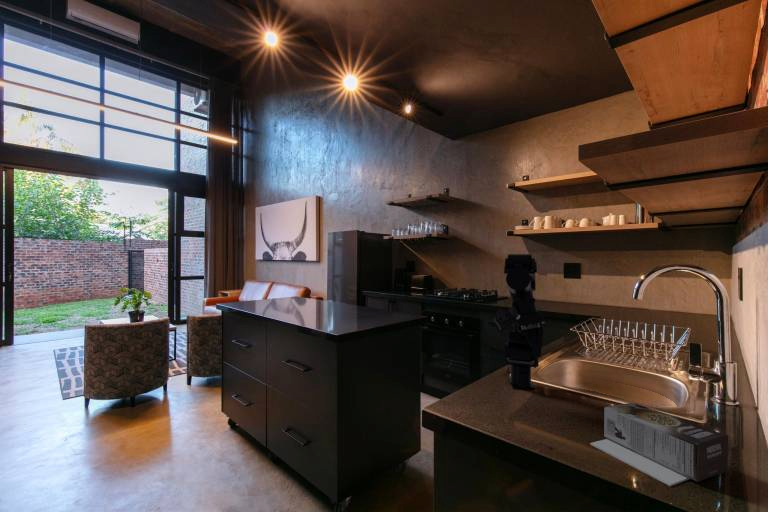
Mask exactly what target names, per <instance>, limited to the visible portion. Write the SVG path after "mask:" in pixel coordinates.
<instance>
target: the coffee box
mask: <svg viewBox="0 0 768 512" xmlns="http://www.w3.org/2000/svg"><path fill="white" fill-rule="evenodd" d="M603 412H604V415H603V416H604V417H603V418H604V420H603V422H604V425H603V426H604V427H603V429H604V431H603V432H604V433H603V434H604V435H603V436H604V437H605V439H610V440H612V441H614V442H616V443H618V444H620V445H623V446H625V447H627V448H629V449H631V450H633V451H635V452H637V453H639V454H641V455H643V456H645V457H647V458H649V459H651V460H653V461H655V462H657V463H659V464H661V465H664V466H666V467H668V468H670V469H672V470H674V471H676V472H678V473H680V474H682V475H684V476H686V477H688V478H690V479H689V480H693V481H695V482H697V483H698V482H702V481H705V480H708V479H710V478H713V477H716V476H719V475H721V474H724V473H727V472H728V471H729V466H728V460H729V453H730V452H729V451H730V450H729V448H730V447H729V443H730V442H729V436H728V434H726V433H722V432H719V431H716V430H713V429H710V428H707V427H705V426H702V425H698V424H696V423H693V422H690V421H687V420H684V419H681V418H679V417H675V416H672V415H670V414H667V413H664V412H662V411H659V410H656V409H653V408H651V407H648V406H644V405H642V404H638V403H637V402H636V403H635V402H633V401H632V402H627V403H621V404H615V405H611V406H605V407H604V411H603Z"/></svg>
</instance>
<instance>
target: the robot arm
mask: <svg viewBox="0 0 768 512" xmlns="http://www.w3.org/2000/svg"><path fill="white" fill-rule="evenodd" d="M504 258H505V259H504V266H503V267H504V269H503V274H504V276H505V283H506V286H507V289H508V293H509V297H510V300H511V308H510V309H507V310H504V309H502V308H500V309H498V310H496V316H495V317H494V318H493V320H494V323H495V324H496V325H497V327H498V328H499V331H503V330H505V329H506V328H507V327H508V326H511V325H512V324H513V331H512V330H511V331H509V333H508V337H507V343H505V345H504V361H505V365H506V366H507V365H509V367H510V369H509V371H510V375H509V376H510V379H506V383H508V385H510V388H512V389H521V390H523V389H525V390H526V389H527V390H528V389H529V390H530V389H531V390H536V386H535V385H534V384H533V383H532V368H534V369H536V368H538V367H539V358H540V357H541V355H542V346H543V338H544V337H543V336H544V329H545V327H544V326H542V324H545V318H544V314H542V313H541V312H539V311H538V309H537V308H538V307H537V304H536V301H537V300H536V298H535V296H534V291H535V292H536V274H537V273H538V266H537V265H538V262H537V260H536V259H535V258H534V257H532V254H531V253H508V255H507V257H504Z"/></svg>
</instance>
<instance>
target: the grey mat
mask: <svg viewBox="0 0 768 512" xmlns="http://www.w3.org/2000/svg"><path fill="white" fill-rule="evenodd" d="M589 444H590V446H593V447H594V448H596V449H597V450H600V451H601V452H603V453H605V454H607V455H609V456H611V457H613V458H615V459H617V460H619V461H621V462H622V463H625V464H627V465H629V466H631V467H632V468H634V469H636V470H638V471H640V472H642V473H644V474H646V475H647V476H650V477H651V478H654V479H655V480H657V481H660V482H661V483H662V484H663V483H664V484H665V485H667V486H669V487H673V486H675V485H678V484H681V483H682V482H685V481H689V480H691V479H690V478H688V477H686V476H684V475H682V474H680V473H678V472H676V471H674V470H672V469H670V468H668V467H666V466H664V465H661V464H659V463H657V462H655V461H653V460H651V459H649V458H647V457H645V456H643V455H641V454H639V453H637V452H635V451H633V450H631V449H629V448H627V447H625V446H623V445H620V444H618V443H616V442H614V441H612V440H610V439H608V438H605V439H601V440H597V441H594V442H590V443H589Z"/></svg>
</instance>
